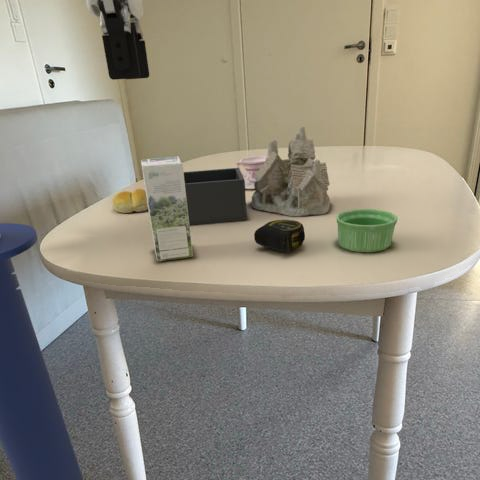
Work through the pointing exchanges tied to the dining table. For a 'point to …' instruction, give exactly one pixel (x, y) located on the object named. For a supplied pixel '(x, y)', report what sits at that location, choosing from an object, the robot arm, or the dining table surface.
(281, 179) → the ceramic cottage
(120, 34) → the robot arm
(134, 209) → the bread roll
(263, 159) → the pink white round vessel
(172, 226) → the syrup box
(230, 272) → the dining table surface
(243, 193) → the bin
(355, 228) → the ramekin
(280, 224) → the tape measure
